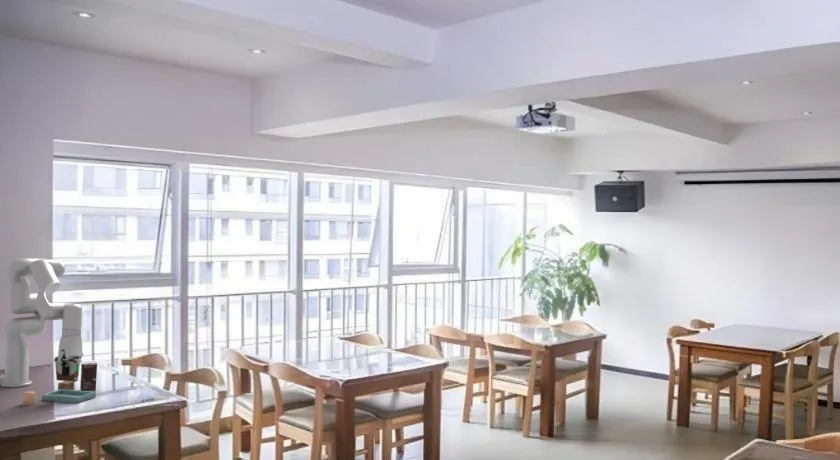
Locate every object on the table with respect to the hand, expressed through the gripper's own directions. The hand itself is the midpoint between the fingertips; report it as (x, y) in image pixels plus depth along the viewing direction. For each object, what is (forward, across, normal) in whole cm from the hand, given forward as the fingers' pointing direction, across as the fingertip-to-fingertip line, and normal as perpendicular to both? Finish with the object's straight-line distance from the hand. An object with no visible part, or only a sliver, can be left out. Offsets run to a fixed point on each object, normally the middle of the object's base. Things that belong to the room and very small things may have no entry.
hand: (70, 373), depth 298 cm
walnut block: (+11, -10, -10) cm, 18 cm away
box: (+11, -17, -4) cm, 21 cm away
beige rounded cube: (+11, +13, -9) cm, 19 cm away
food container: (+3, -1, 0) cm, 3 cm away
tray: (+11, 0, 0) cm, 11 cm away
